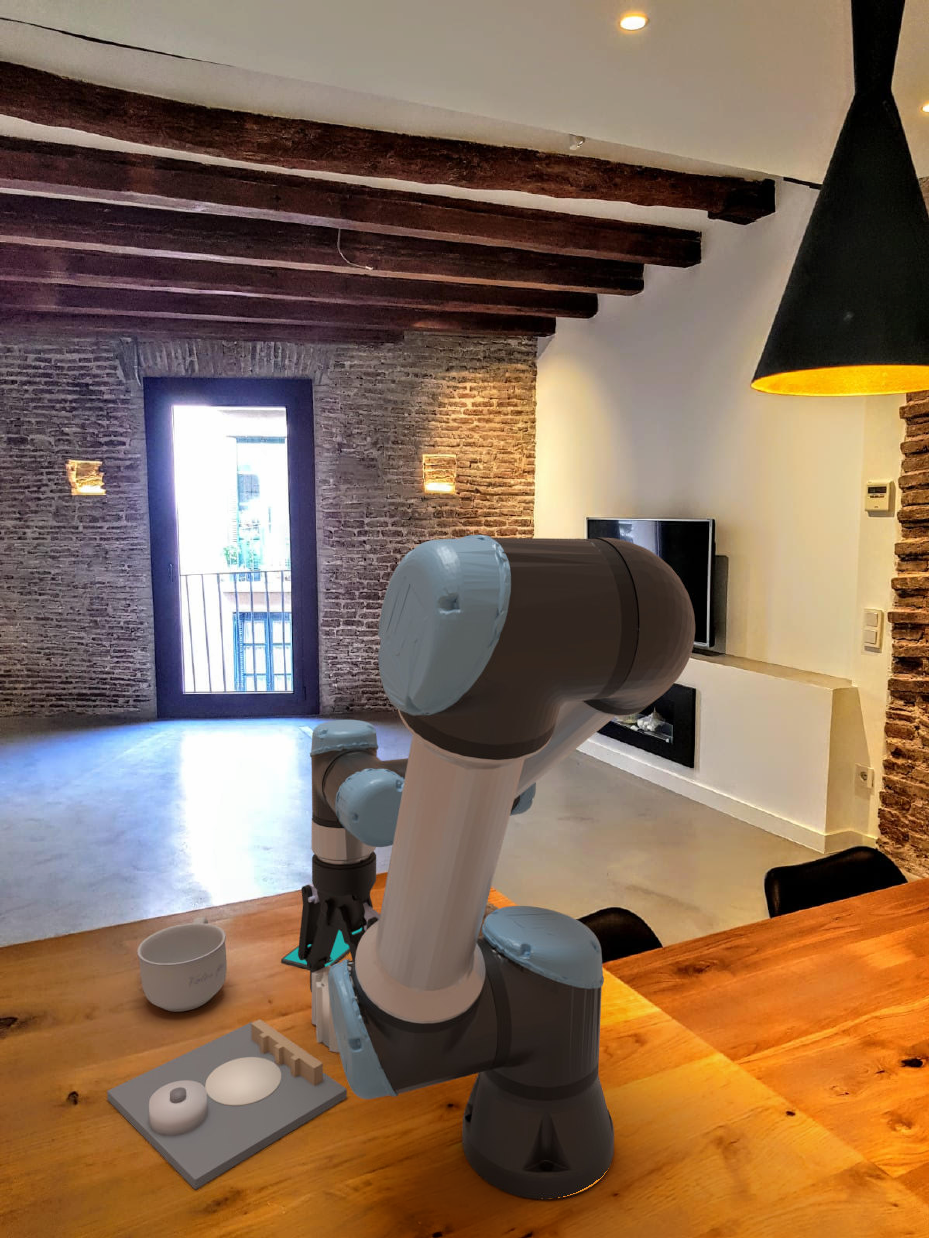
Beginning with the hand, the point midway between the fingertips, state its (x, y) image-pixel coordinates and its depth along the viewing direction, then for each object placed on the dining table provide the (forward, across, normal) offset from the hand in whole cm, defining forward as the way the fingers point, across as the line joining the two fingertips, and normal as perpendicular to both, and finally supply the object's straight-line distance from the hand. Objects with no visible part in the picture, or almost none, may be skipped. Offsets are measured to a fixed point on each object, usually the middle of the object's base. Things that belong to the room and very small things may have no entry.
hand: (344, 1033), depth 105 cm
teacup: (+1, +22, +8) cm, 23 cm away
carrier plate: (0, 0, +16) cm, 16 cm away
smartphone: (+1, +19, -13) cm, 23 cm away
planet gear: (0, 0, 0) cm, 0 cm away
